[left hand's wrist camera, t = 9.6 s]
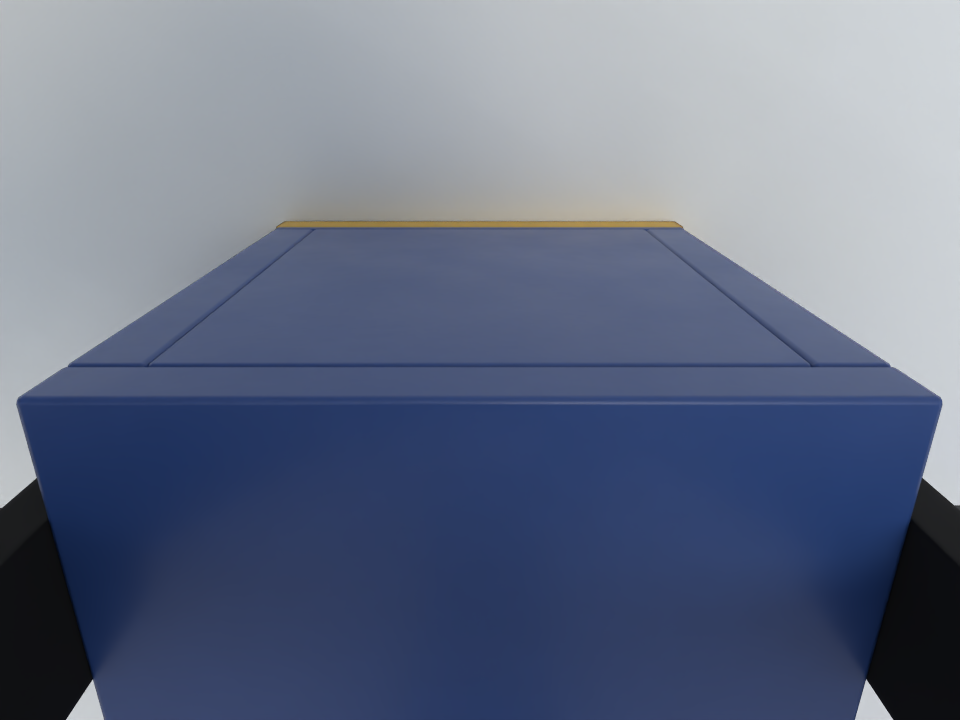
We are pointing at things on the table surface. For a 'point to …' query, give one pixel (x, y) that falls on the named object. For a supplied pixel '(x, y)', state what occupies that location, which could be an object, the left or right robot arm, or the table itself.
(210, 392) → the cabinet
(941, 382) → the table surface
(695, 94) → the table surface
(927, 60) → the table surface
